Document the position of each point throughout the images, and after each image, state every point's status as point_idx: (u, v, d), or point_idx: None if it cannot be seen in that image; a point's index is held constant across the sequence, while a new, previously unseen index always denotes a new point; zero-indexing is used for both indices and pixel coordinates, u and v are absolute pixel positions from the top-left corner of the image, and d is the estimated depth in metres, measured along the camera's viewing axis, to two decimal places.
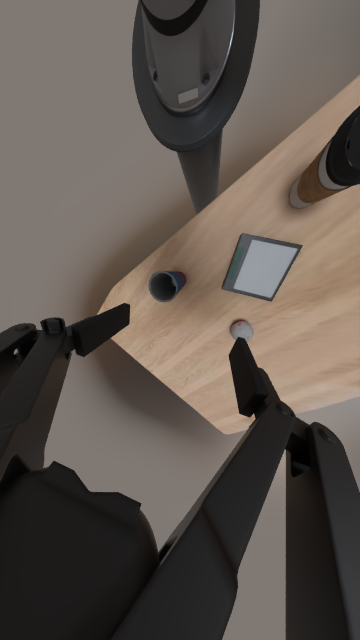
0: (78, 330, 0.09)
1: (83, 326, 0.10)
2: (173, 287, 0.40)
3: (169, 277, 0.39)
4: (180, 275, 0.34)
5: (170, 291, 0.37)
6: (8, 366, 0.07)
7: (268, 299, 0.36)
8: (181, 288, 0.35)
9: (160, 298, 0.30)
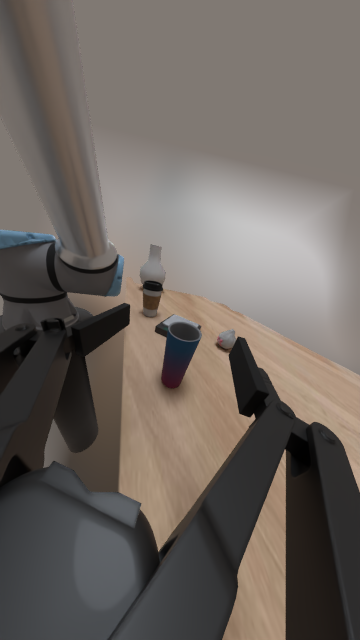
0: (78, 330, 0.09)
1: (83, 326, 0.10)
2: None
3: None
4: None
5: None
6: (8, 366, 0.07)
7: (199, 326, 0.54)
8: None
9: None
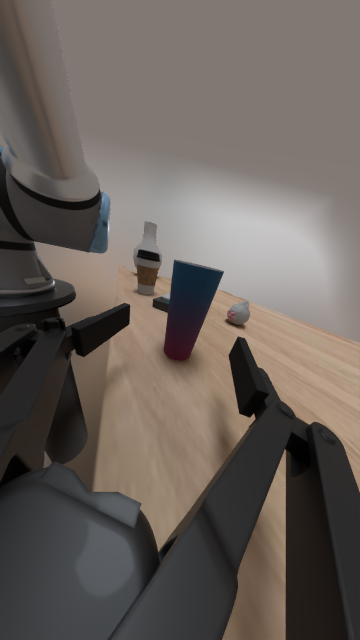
0: (78, 330, 0.09)
1: (83, 326, 0.10)
2: None
3: None
4: None
5: None
6: (8, 366, 0.07)
7: None
8: None
9: None
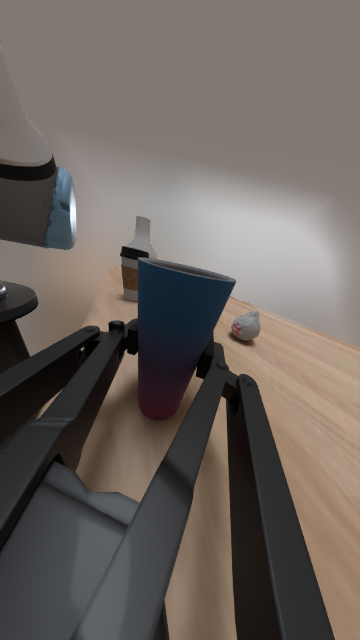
0: (134, 331, 0.11)
1: (137, 328, 0.11)
2: None
3: None
4: None
5: None
6: (72, 363, 0.08)
7: None
8: None
9: None
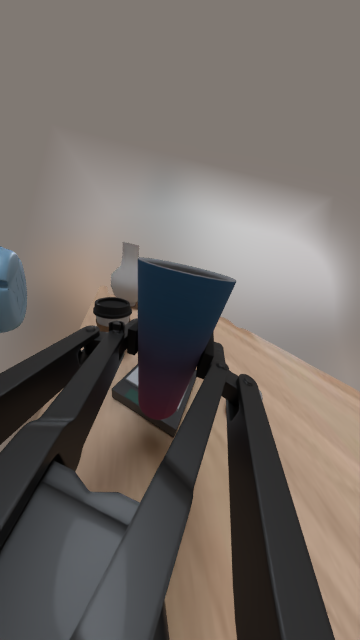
0: (134, 331, 0.11)
1: (137, 328, 0.11)
2: None
3: None
4: None
5: None
6: (72, 363, 0.08)
7: None
8: None
9: None
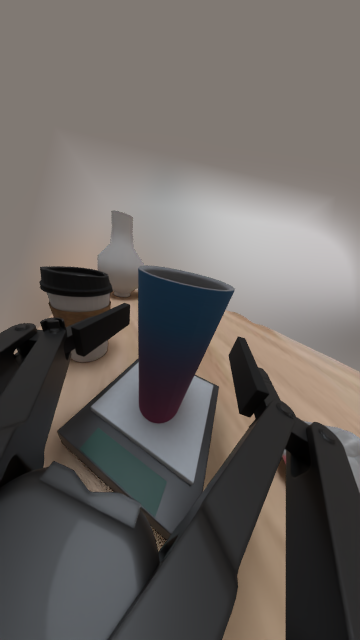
0: (78, 330, 0.09)
1: (83, 326, 0.10)
2: None
3: None
4: None
5: None
6: (8, 366, 0.07)
7: (216, 390, 0.19)
8: None
9: None
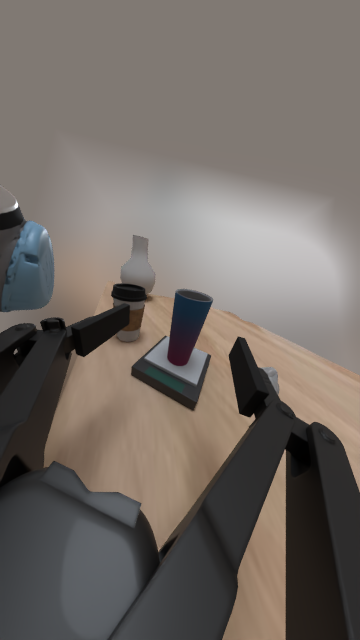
0: (78, 330, 0.09)
1: (83, 326, 0.10)
2: None
3: None
4: None
5: None
6: (8, 366, 0.07)
7: (209, 357, 0.33)
8: None
9: None
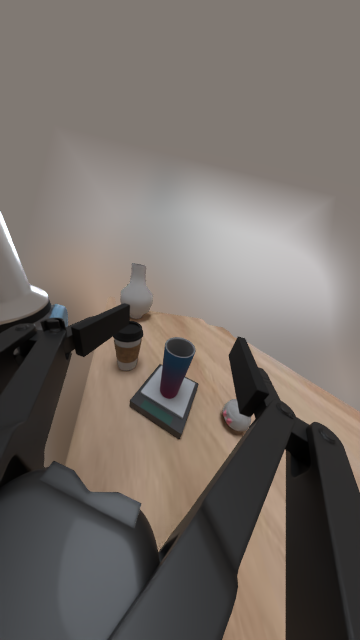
0: (78, 330, 0.09)
1: (83, 326, 0.10)
2: None
3: None
4: None
5: None
6: (8, 366, 0.07)
7: (196, 385, 0.38)
8: None
9: None
